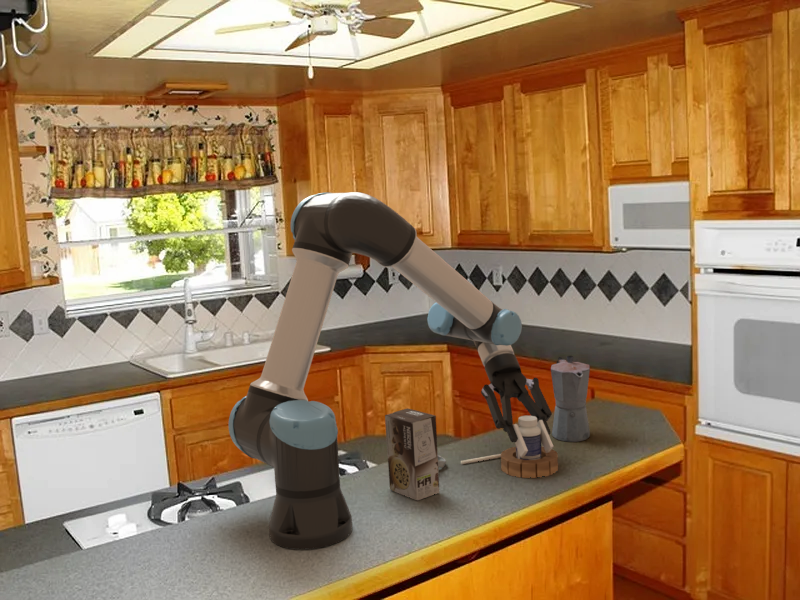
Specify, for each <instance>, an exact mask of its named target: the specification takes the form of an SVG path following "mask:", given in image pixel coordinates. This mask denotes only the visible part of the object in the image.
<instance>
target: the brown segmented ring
mask: <svg viewBox="0 0 800 600" xmlns="http://www.w3.org/2000/svg"><path fill="white" fill-rule="evenodd" d="M558 453H559V452H557V451H555V449H553V448H552V449H551V451H550V452H549V453H546V451H545V449H544V447H543V445H541V459H537V460H522V459H517V458H516V446H513V447H509V448H507V449H504V450H502V452H501V453H500V454H501V458H500V470H501V472H503V473H504V474H507V475H508V476H512V477H515V476H516V477H515V478H520V477H521V478H522V479H537V477H540V478H543V477H542V476H545V477H549V476H552V475H554V474H556V473H557V472H558V471H559V459H558V458H559V457H558V456H559V455H558ZM556 471H557V472H556ZM553 473H554V474H553ZM530 477H531V478H530Z"/></svg>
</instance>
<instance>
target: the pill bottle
mask: <svg viewBox="0 0 800 600" xmlns="http://www.w3.org/2000/svg"><path fill="white" fill-rule="evenodd" d="M517 425H518V427H519V430H520V432H521V435H522V437H523V440H524V442H525V445H526V447H527V449H528V452H527V453H526V455H525V456H524V457H520V454H519V452H518V449H517V447H516V446H515V447H516V458H517V459H522V460H537V459H541V446H542V442H541V430H540V428H539V427H537V426H536V425H537V417H535V416H531V415H521V416H519V417H518V422H517Z"/></svg>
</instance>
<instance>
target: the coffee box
mask: <svg viewBox="0 0 800 600" xmlns="http://www.w3.org/2000/svg"><path fill="white" fill-rule="evenodd" d="M384 421H385V436H386V437H385V438H386V449H387V451H386V452H387V463H388V464H387V465H388V478H389V479H388V480H389V490H390V491H391V490H392V491H393V492H395V493H397V494H399V495H402V496H404V495H405V497H407V498H409V497H410V499H412V500H415V501H420V500H423V499H425V498H429V497H431V496H434V494H435V495H437V493H438V494H439V493H440V479H439V476H440V475H439V467H438V455H439V454H438V453H439V452H438V439H437V438H438V437H437V416H436V415H435V414H431V413H428V412H423V411H419V410H415V409H411V408H404V409H401V410H398V411H397V410H396V411H394V412H391V413H388V414H385V415H384Z"/></svg>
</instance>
